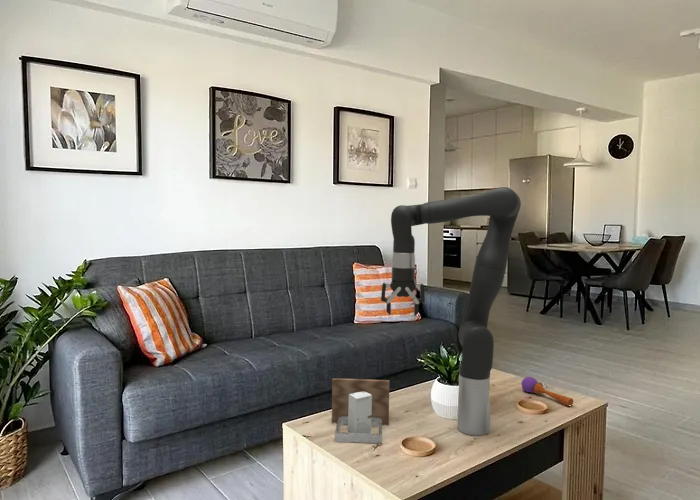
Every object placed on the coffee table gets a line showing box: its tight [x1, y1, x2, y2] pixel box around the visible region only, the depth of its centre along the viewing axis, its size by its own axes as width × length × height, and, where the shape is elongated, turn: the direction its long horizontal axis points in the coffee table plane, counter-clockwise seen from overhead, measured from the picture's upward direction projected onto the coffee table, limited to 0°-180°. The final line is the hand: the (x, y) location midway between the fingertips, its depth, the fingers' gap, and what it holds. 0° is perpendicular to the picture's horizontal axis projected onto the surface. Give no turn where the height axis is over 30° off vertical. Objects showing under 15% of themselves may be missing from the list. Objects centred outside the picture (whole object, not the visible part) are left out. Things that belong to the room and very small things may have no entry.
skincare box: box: [347, 391, 372, 434], centre depth 151 cm, size 6×4×12 cm
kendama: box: [521, 376, 574, 407], centre depth 183 cm, size 6×6×20 cm
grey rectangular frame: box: [334, 416, 383, 444], centre depth 151 cm, size 14×13×2 cm
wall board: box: [331, 377, 390, 426], centre depth 160 cm, size 18×4×14 cm, turn 87°
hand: (402, 314), depth 166 cm, fingers open, 8 cm apart
